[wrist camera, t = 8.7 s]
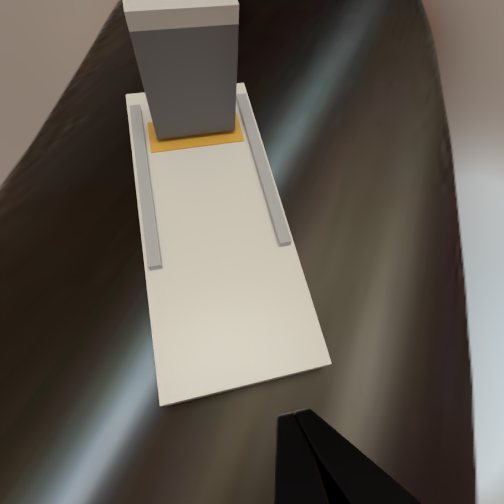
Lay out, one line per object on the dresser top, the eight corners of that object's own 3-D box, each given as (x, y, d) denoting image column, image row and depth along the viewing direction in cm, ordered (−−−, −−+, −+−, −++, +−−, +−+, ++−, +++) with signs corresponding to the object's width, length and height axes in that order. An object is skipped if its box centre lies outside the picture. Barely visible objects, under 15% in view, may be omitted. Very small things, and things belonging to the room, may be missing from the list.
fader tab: (235, 130, 26) (239, 4, 18) (157, 139, 25) (124, 11, 17) (229, 111, 27) (231, -17, 19) (154, 120, 26) (121, -11, 18)
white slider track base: (320, 368, 22) (334, 362, 19) (167, 406, 20) (157, 406, 18) (242, 106, 31) (244, 76, 29) (133, 118, 30) (123, 88, 27)
